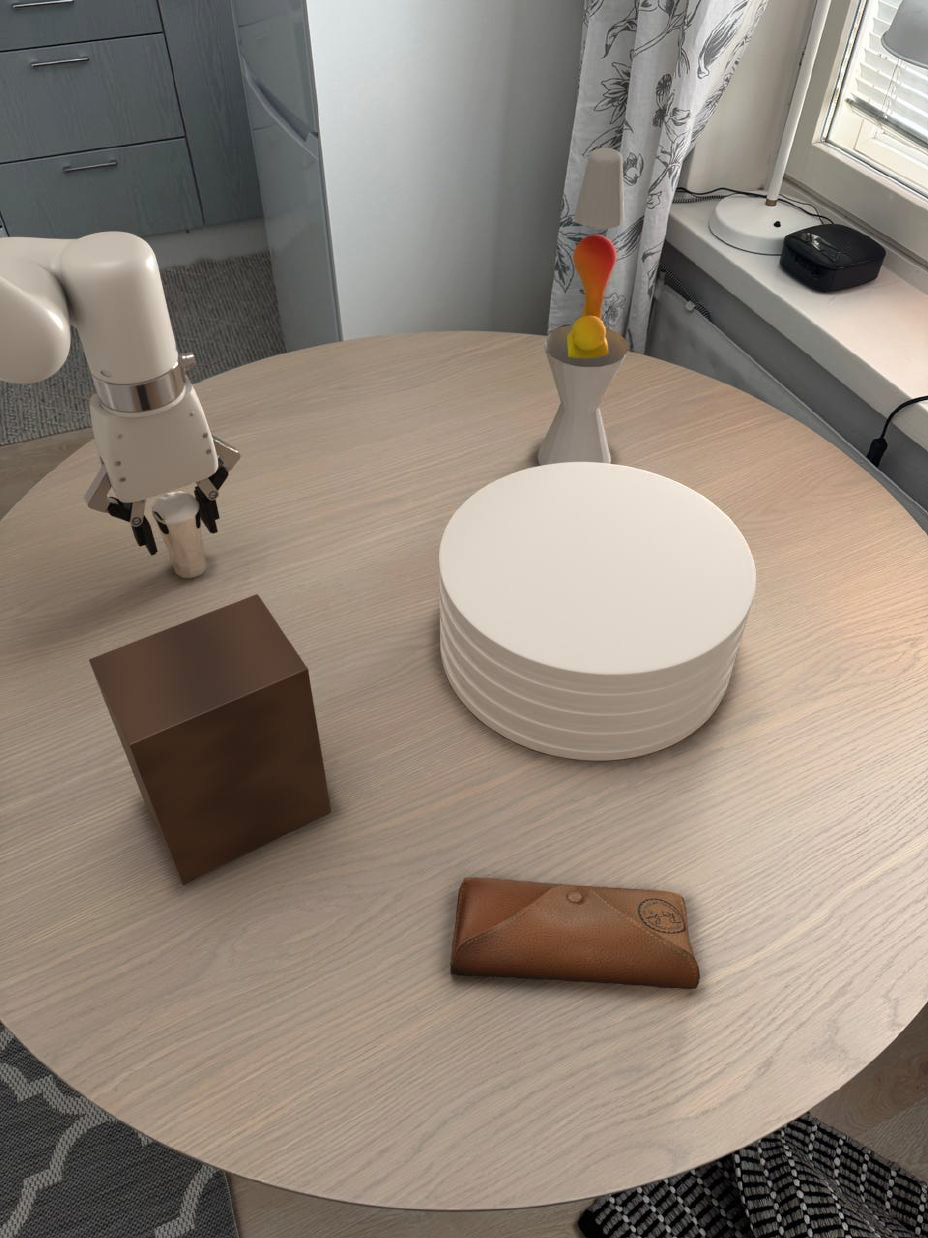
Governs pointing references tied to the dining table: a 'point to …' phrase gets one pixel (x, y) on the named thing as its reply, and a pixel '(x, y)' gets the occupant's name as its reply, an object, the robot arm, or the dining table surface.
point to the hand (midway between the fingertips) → (179, 534)
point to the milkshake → (181, 532)
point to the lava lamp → (588, 325)
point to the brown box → (218, 733)
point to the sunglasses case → (572, 934)
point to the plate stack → (592, 608)
